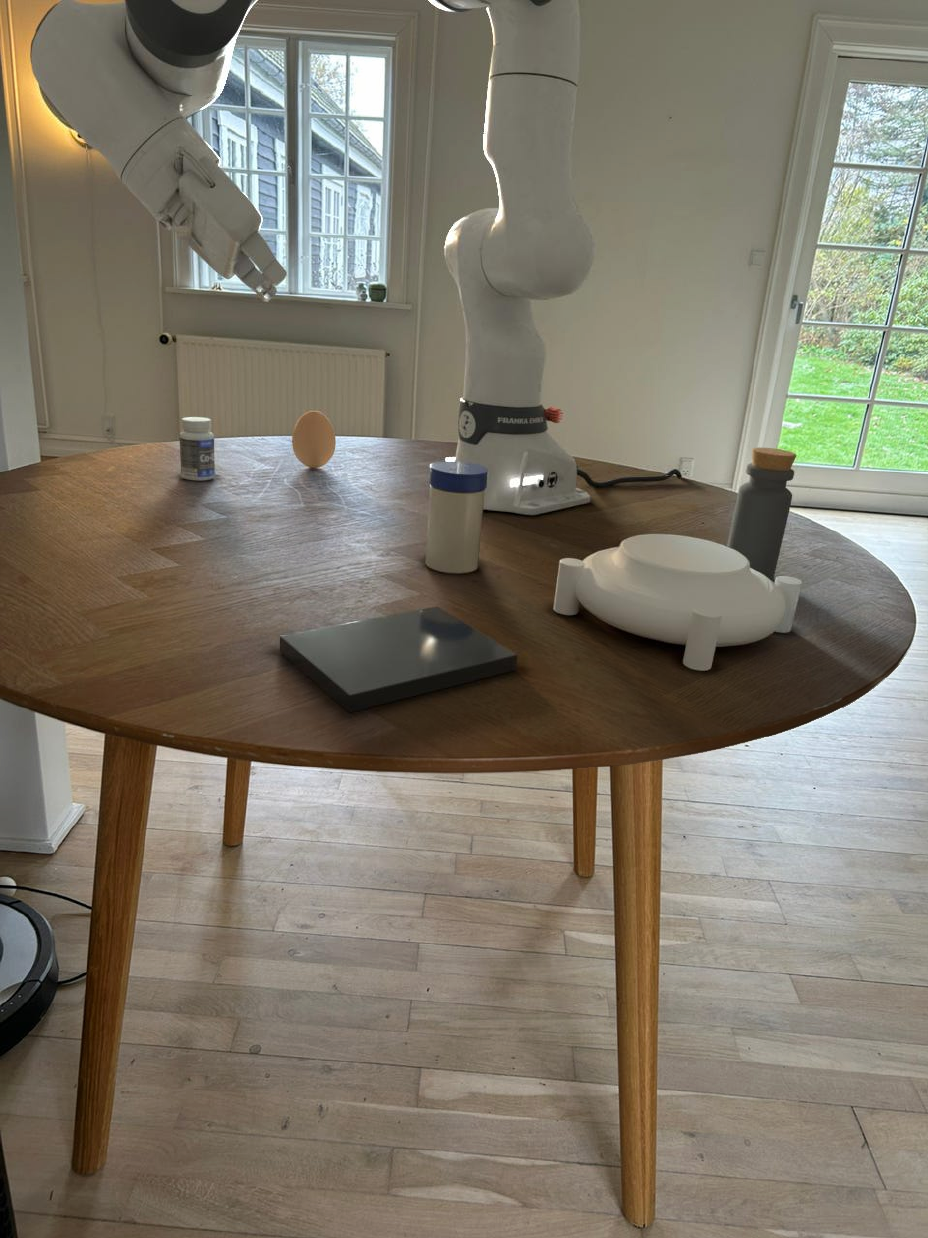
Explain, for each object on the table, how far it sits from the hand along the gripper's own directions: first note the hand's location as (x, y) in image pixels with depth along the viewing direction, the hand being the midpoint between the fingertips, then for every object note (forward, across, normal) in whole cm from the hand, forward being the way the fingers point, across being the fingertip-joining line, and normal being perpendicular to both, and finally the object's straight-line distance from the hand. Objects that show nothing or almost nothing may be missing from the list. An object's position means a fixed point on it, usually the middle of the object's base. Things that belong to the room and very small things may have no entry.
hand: (276, 289), depth 90 cm
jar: (+34, -4, +7) cm, 35 cm away
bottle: (+58, -12, -17) cm, 62 cm away
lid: (+26, -7, 0) cm, 27 cm away
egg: (+20, +42, +6) cm, 47 cm away
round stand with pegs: (+49, -22, -3) cm, 54 cm away
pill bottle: (+9, +35, +20) cm, 42 cm away
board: (+29, -28, +19) cm, 45 cm away
